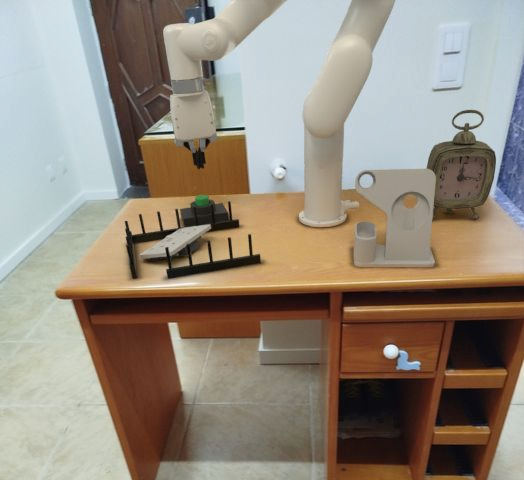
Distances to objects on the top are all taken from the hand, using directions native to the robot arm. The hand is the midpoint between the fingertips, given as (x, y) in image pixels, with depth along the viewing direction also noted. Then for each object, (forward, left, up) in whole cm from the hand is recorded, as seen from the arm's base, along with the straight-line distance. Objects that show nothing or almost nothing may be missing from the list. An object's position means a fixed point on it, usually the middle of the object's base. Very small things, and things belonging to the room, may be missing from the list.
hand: (200, 167), depth 123 cm
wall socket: (+10, +17, -14) cm, 25 cm away
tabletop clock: (-60, +22, -14) cm, 66 cm away
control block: (+1, 0, -14) cm, 14 cm away
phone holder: (-36, +38, -14) cm, 54 cm away
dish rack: (+7, +19, -14) cm, 25 cm away
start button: (+1, 0, -10) cm, 10 cm away
